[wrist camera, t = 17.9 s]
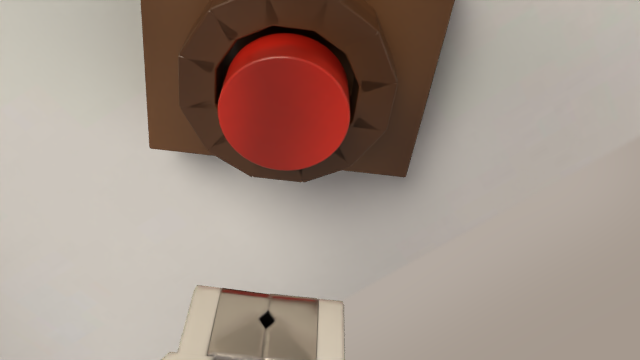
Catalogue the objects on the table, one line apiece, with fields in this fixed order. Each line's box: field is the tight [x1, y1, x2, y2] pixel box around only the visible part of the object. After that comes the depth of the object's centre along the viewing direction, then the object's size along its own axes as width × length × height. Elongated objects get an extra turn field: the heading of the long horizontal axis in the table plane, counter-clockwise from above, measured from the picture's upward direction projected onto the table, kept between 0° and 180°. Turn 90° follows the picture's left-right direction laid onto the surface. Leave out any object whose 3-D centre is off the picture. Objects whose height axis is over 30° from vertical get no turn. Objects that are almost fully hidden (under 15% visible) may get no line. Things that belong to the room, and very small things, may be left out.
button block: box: [141, 0, 455, 182], centre depth 20 cm, size 10×8×4 cm
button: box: [218, 33, 350, 171], centre depth 18 cm, size 4×4×2 cm
